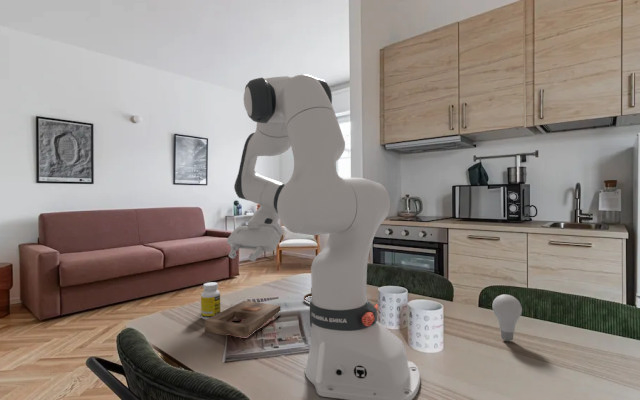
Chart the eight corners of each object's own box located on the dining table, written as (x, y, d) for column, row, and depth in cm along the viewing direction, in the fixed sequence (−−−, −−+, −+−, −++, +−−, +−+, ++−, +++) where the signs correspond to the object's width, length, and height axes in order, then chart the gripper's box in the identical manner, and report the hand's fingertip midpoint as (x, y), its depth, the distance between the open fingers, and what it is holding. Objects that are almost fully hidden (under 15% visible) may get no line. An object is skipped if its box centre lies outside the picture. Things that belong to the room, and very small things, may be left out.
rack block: (280, 315, 98) (280, 304, 98) (245, 339, 83) (245, 326, 83) (244, 310, 104) (244, 299, 104) (204, 331, 88) (204, 319, 88)
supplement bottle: (217, 320, 96) (216, 286, 96) (198, 320, 96) (197, 286, 96) (223, 313, 102) (222, 281, 101) (205, 313, 102) (204, 281, 101)
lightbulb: (525, 340, 79) (524, 294, 79) (518, 349, 75) (518, 300, 75) (496, 333, 83) (496, 289, 83) (489, 341, 79) (488, 295, 79)
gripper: (235, 219, 120) (214, 250, 112) (278, 220, 109) (258, 255, 101) (245, 230, 124) (225, 261, 116) (288, 232, 113) (268, 267, 105)
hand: (240, 258), depth 109 cm, fingers open, 8 cm apart
